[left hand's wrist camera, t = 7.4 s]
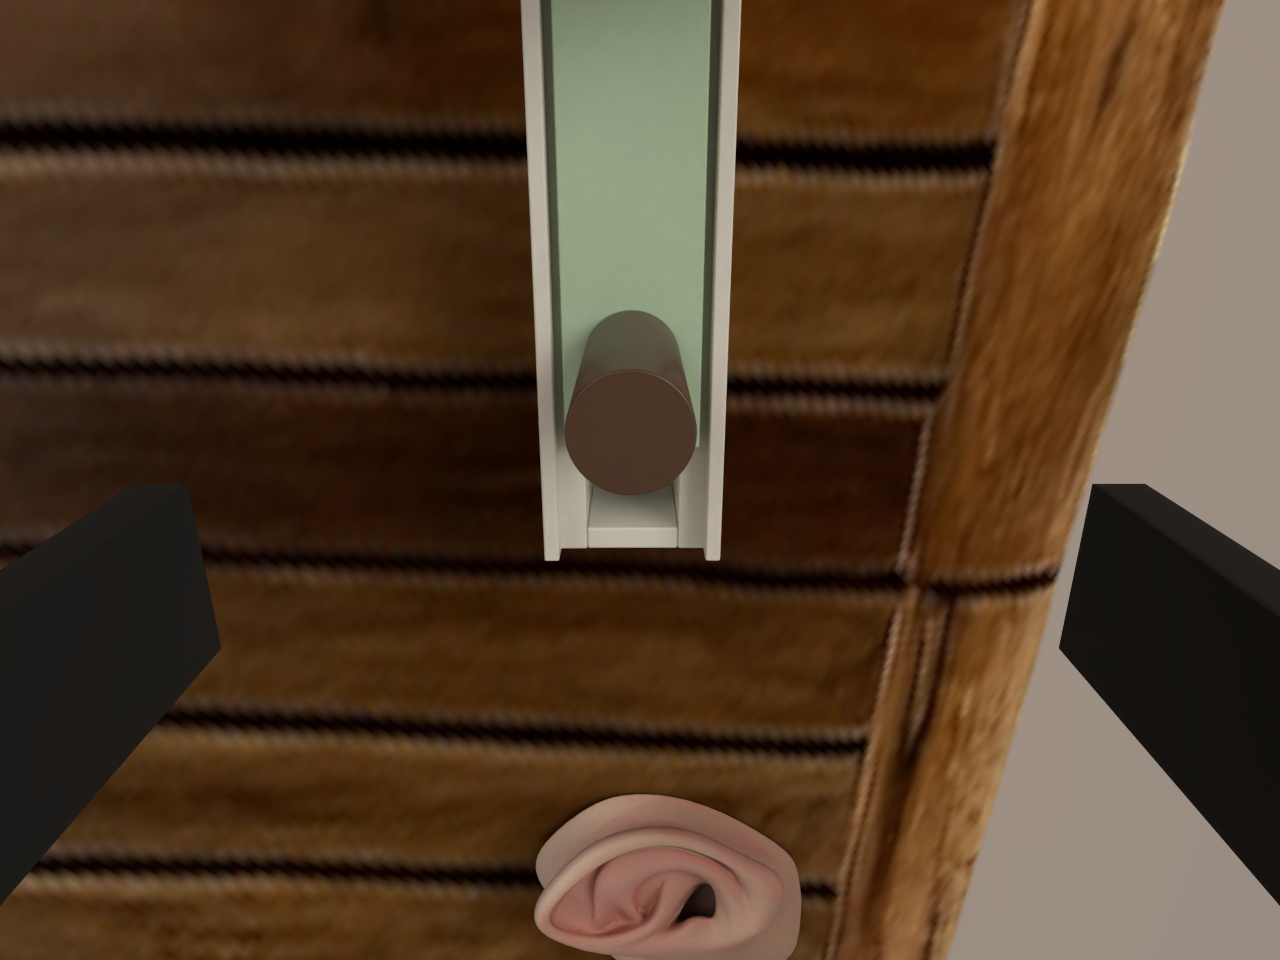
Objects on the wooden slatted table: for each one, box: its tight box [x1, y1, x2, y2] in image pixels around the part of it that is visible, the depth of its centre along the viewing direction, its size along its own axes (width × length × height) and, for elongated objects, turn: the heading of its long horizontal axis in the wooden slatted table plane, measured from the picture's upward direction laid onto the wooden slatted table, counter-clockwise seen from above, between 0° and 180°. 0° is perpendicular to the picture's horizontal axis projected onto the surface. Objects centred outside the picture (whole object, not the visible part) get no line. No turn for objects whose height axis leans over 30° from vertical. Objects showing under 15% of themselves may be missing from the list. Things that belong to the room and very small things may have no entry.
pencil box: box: [521, 0, 741, 561], centre depth 27 cm, size 24×6×6 cm, turn 0°
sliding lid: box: [551, 0, 711, 495], centre depth 21 cm, size 16×4×9 cm, turn 0°
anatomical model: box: [534, 794, 801, 960], centre depth 40 cm, size 13×4×12 cm
